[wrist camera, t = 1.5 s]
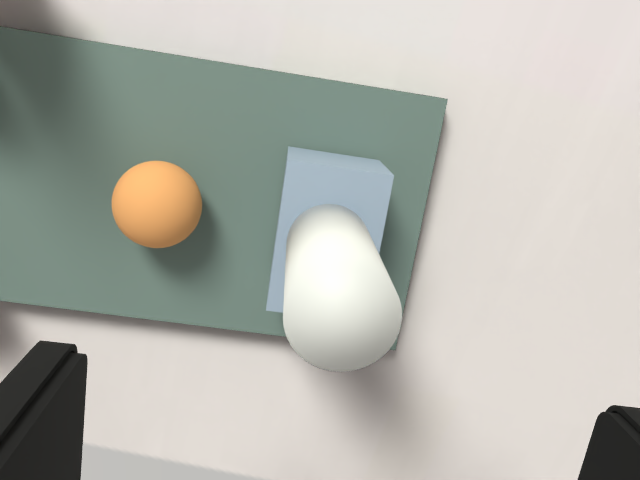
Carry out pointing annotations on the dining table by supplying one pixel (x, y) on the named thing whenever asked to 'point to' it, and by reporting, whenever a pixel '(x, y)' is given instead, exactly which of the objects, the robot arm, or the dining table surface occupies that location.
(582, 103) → the dining table surface
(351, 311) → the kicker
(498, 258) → the dining table surface
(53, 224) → the board
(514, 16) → the dining table surface
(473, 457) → the dining table surface
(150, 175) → the ball
